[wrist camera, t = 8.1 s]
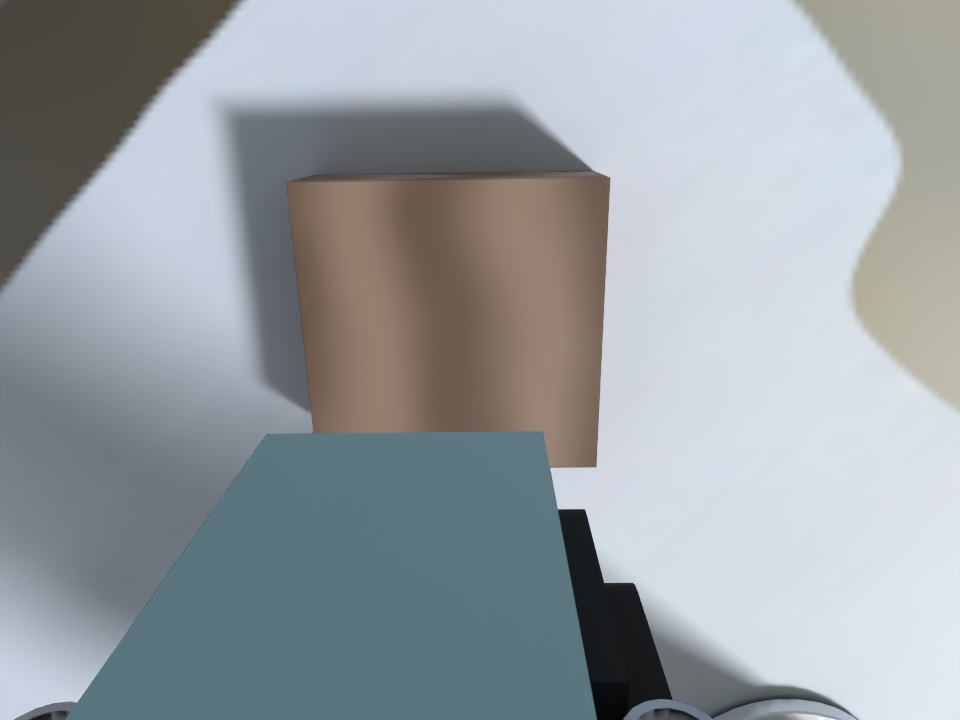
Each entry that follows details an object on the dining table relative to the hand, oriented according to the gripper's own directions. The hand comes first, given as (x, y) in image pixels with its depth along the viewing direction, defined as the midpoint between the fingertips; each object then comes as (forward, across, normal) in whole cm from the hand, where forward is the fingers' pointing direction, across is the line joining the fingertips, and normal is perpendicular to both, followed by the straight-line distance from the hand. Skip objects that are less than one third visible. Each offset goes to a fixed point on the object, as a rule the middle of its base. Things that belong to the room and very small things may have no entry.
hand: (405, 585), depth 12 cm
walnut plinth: (+20, 0, 0) cm, 20 cm away
